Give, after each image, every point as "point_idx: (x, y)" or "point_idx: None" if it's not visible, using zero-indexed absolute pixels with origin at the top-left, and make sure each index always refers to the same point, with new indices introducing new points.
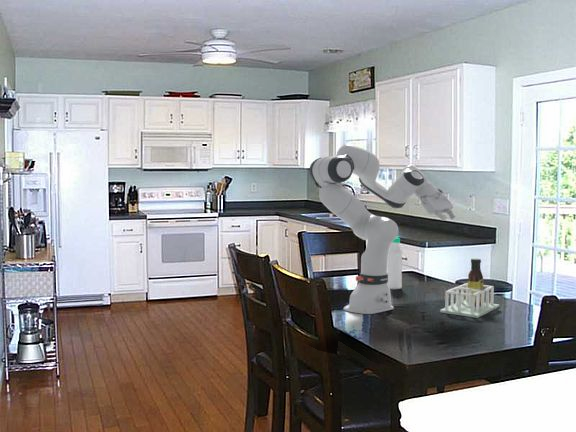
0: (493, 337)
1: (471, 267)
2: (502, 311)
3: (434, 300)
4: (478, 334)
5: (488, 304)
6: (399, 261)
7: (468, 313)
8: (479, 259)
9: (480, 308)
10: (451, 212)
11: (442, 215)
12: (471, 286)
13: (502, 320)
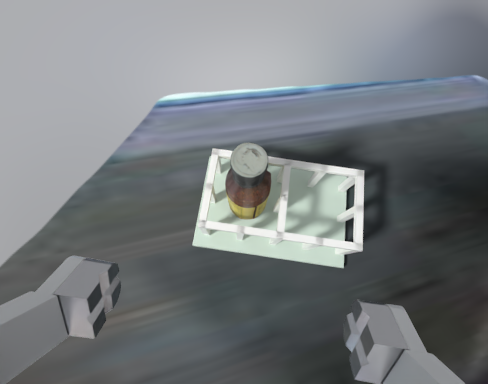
0: (471, 126)
1: (256, 184)
2: None
3: (209, 324)
4: (470, 151)
5: None
6: None
7: (341, 198)
8: (255, 145)
9: (274, 185)
10: (16, 323)
11: (430, 358)
12: (268, 196)
13: (336, 132)
